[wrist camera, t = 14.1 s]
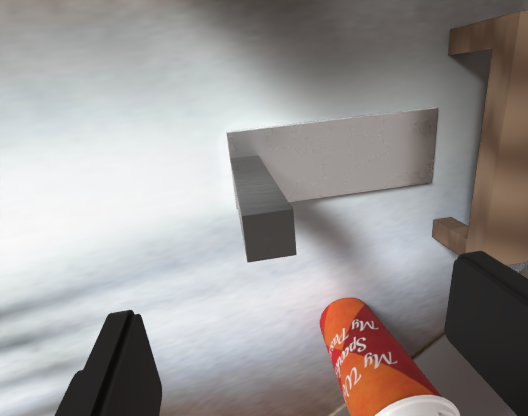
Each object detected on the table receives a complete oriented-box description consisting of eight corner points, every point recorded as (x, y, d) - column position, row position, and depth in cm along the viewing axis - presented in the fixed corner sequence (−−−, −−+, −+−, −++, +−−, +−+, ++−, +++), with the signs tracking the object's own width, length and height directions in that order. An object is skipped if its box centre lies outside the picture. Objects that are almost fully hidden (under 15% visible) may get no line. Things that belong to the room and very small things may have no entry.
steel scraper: (226, 131, 29) (235, 170, 15) (430, 107, 31) (614, 121, 16) (236, 205, 31) (252, 299, 17) (424, 179, 33) (581, 245, 19)
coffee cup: (337, 277, 35) (416, 398, 21) (392, 305, 38) (495, 432, 24) (295, 333, 37) (342, 479, 23) (349, 357, 40) (422, 503, 26)
